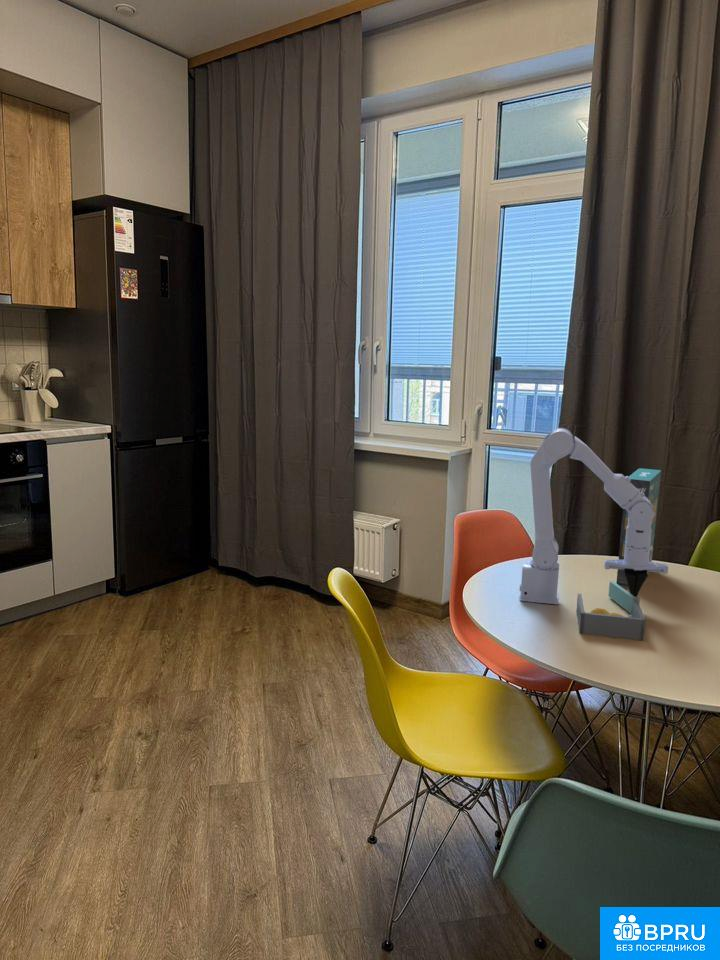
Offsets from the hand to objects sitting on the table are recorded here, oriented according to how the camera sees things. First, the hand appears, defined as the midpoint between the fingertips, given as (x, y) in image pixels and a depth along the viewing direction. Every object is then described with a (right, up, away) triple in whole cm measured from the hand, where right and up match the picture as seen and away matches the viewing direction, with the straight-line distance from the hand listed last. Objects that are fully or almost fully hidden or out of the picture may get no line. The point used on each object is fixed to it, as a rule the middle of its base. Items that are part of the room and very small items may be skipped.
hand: (633, 598), depth 169 cm
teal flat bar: (-2, -2, +1) cm, 3 cm away
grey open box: (-9, -4, -9) cm, 14 cm away
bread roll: (-11, -5, -11) cm, 16 cm away
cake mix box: (+11, +1, +27) cm, 29 cm away
